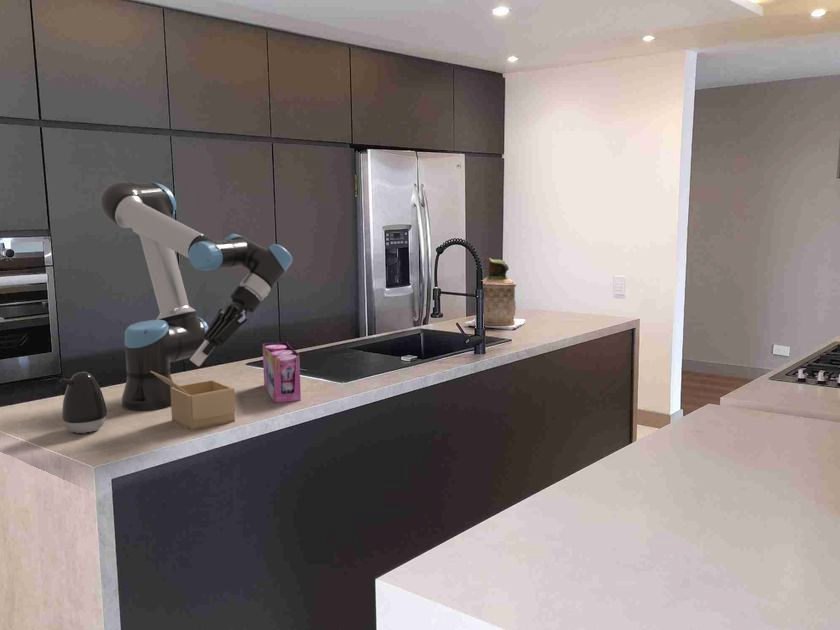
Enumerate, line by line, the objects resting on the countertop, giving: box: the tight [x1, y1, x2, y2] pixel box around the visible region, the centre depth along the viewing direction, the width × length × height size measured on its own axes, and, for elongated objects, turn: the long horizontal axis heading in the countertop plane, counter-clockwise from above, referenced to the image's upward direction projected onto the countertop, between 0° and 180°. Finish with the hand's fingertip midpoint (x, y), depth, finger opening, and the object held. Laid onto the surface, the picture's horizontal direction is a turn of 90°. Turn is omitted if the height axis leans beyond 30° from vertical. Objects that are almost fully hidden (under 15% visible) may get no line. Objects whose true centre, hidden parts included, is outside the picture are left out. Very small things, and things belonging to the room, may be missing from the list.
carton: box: [170, 379, 236, 432], centre depth 189 cm, size 13×12×9 cm
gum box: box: [262, 341, 302, 403], centre depth 216 cm, size 24×8×14 cm, turn 20°
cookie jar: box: [464, 257, 527, 331], centre depth 339 cm, size 25×25×32 cm
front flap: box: [150, 371, 189, 395], centre depth 182 cm, size 11×7×1 cm
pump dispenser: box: [59, 371, 108, 434], centre depth 180 cm, size 10×10×15 cm
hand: (194, 362), depth 185 cm, fingers closed
